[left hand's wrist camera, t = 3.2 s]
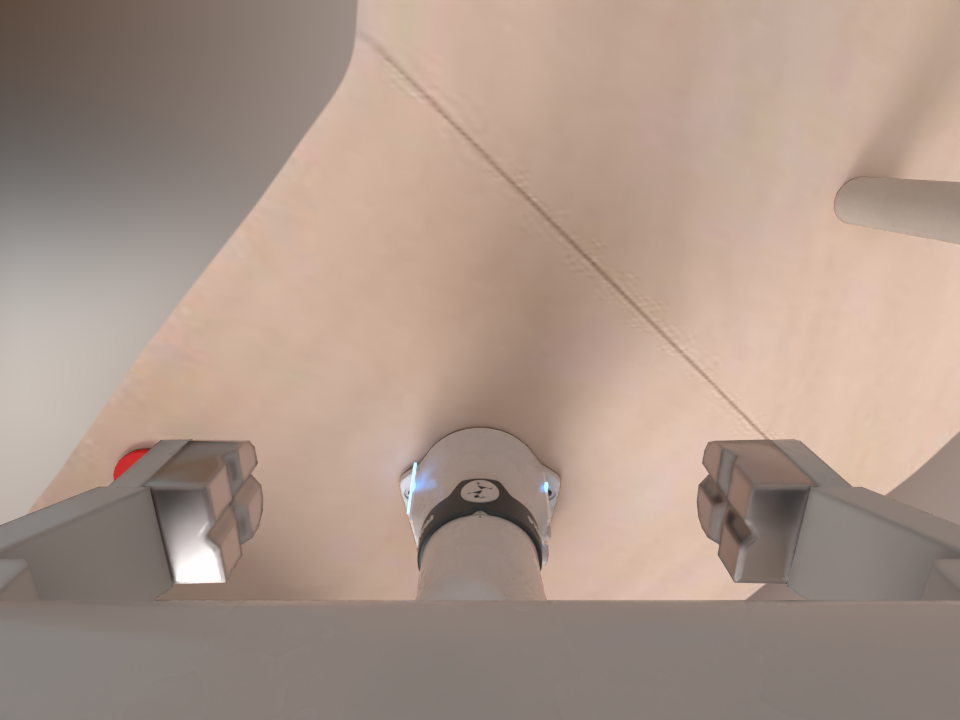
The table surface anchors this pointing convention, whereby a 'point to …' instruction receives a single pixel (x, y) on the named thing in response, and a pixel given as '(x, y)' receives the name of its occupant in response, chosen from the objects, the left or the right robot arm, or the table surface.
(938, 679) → the left robot arm
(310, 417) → the table surface
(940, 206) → the grey cylinder
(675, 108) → the table surface
